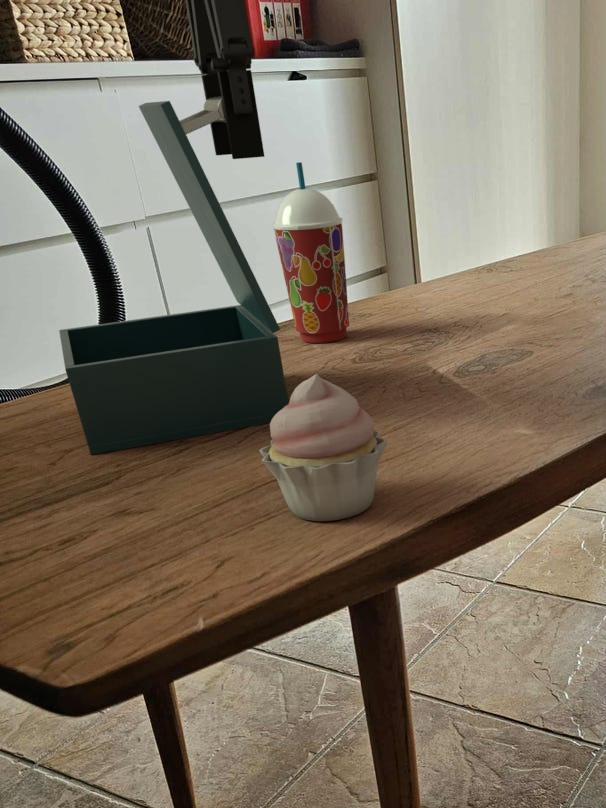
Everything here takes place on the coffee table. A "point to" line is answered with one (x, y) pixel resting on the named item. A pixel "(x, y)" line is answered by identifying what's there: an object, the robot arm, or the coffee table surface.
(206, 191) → the lid
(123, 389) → the dark green box
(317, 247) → the smoothie
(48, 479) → the coffee table surface
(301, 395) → the cupcake
